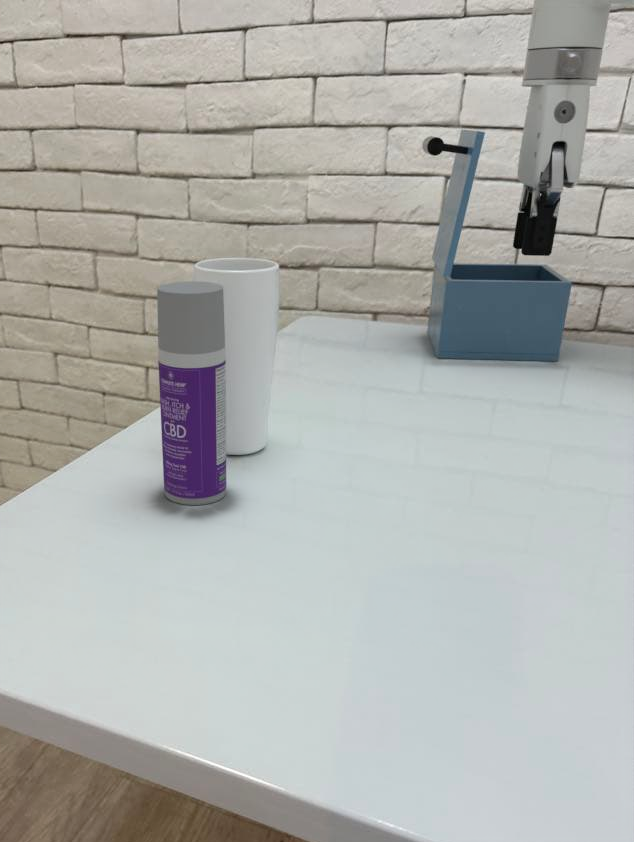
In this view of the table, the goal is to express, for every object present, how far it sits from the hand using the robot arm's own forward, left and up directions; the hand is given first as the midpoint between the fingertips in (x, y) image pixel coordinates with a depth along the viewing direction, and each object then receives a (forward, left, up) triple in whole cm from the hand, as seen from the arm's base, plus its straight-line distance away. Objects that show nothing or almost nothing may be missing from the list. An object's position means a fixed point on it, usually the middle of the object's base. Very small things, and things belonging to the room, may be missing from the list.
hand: (531, 250), depth 95 cm
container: (+32, +48, -12) cm, 59 cm away
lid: (+9, 0, +5) cm, 10 cm away
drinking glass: (+30, +38, -12) cm, 50 cm away
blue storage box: (+3, 0, -11) cm, 12 cm away
